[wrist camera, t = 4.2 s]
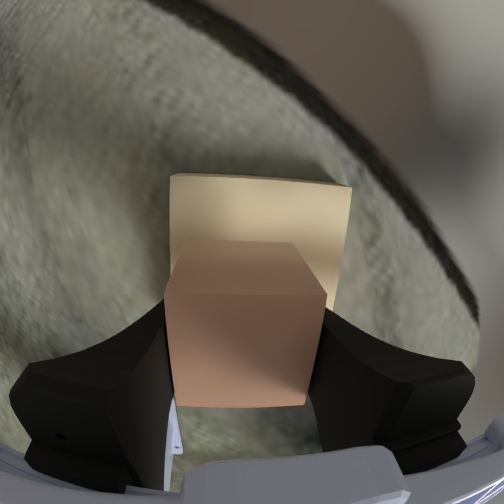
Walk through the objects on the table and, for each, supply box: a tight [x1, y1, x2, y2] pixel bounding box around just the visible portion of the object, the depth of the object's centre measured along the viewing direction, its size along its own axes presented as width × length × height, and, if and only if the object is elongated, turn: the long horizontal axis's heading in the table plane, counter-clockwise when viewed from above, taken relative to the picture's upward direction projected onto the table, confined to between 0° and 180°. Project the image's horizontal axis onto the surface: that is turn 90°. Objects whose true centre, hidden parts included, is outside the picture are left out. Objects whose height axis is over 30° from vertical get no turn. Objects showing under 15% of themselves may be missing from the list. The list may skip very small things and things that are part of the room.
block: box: [164, 239, 327, 408], centre depth 11 cm, size 4×4×5 cm
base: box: [170, 173, 352, 311], centre depth 18 cm, size 10×10×2 cm
